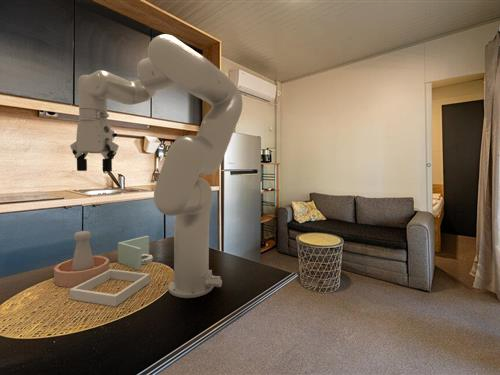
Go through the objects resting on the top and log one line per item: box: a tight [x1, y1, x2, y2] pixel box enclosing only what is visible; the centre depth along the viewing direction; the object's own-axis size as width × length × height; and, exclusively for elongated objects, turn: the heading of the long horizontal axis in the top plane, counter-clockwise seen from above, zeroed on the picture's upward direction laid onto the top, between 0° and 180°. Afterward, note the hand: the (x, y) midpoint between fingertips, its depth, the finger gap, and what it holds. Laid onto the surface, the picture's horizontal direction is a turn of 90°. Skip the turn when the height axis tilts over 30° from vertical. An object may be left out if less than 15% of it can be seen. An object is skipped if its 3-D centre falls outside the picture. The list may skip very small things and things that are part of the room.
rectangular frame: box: [69, 268, 151, 307], centre depth 68 cm, size 14×14×2 cm
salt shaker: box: [72, 230, 94, 272], centre depth 76 cm, size 6×6×13 cm
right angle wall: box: [117, 235, 154, 271], centre depth 91 cm, size 12×12×8 cm
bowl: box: [53, 255, 111, 288], centre depth 76 cm, size 14×14×4 cm
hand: (94, 171), depth 80 cm, fingers open, 9 cm apart
